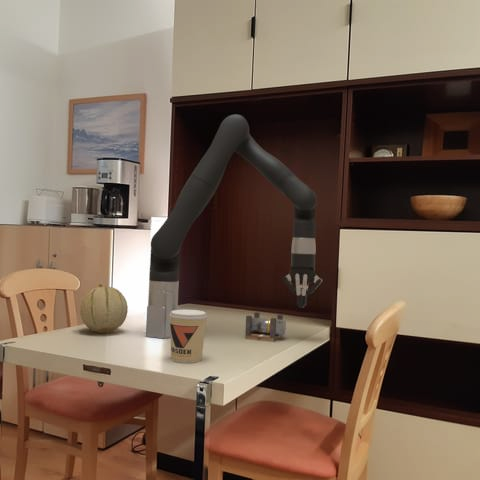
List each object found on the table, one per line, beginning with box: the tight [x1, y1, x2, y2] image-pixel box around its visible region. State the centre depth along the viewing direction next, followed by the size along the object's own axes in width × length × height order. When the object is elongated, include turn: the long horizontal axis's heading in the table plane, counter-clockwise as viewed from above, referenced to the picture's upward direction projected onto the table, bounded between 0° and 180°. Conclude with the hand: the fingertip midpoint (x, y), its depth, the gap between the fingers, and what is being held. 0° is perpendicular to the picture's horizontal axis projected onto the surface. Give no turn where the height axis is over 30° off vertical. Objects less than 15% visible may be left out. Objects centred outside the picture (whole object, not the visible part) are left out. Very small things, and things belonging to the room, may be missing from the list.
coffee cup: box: [170, 309, 208, 364], centre depth 124 cm, size 9×9×12 cm
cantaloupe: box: [79, 283, 129, 334], centre depth 154 cm, size 15×15×15 cm
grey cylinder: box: [251, 316, 287, 337], centre depth 157 cm, size 11×5×5 cm, turn 71°
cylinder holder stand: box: [244, 312, 284, 343], centre depth 157 cm, size 10×9×7 cm
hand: (301, 307), depth 153 cm, fingers closed
